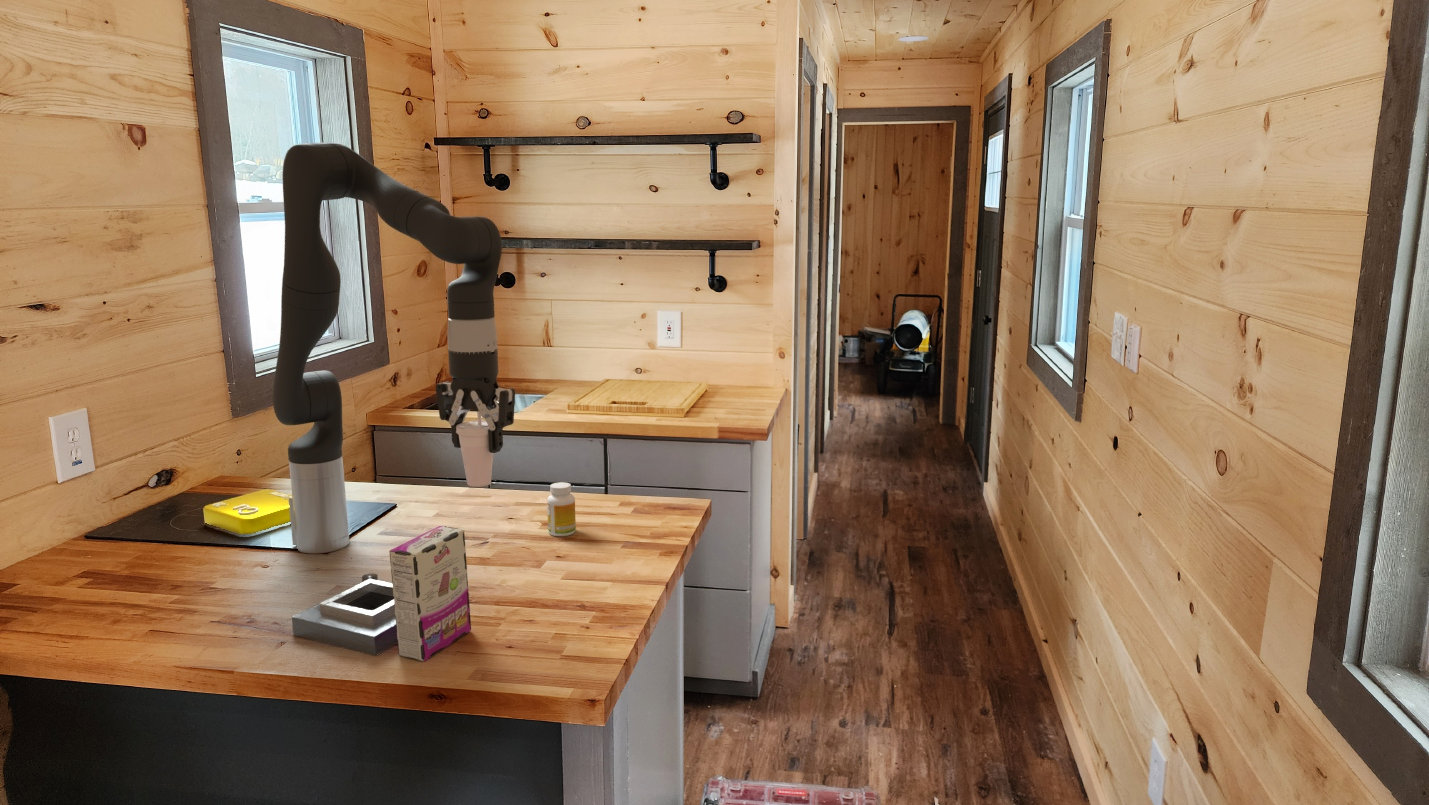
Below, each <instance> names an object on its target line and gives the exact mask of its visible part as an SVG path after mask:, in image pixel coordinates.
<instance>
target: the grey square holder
mask: <svg viewBox="0 0 1429 805" xmlns="http://www.w3.org/2000/svg"><path fill="white" fill-rule="evenodd" d="M378 577H379V576H378V573H373V572H372V573H371V572H370V573H366V574H363V575H362V576H361V582H360V583H358V584H356V585H354V586H352V587H349V588H347V589H345V590H343V591H341V592H339V593H337V594H335V595H333V596H332V597H329V598H327V599H325V600H323V601H321V602H319V603H317V604H314V605H313V606H310V607H308V608H307V609H305V610H303V611H300V612H298V613H297V614H294V615H292V616H291V621H292V622H291V624H292V634H293V636H295V637H299V638H303V639H307V640H311V641H315V642H318V643H319V642H320V643H323V644H327V645H329V646H330V645H331V646H334V647H339V648H342V647H343V649H346V650H350V651H354V652H359V653H362V652H363V654H367V655H371V656H374V655H375V656H374V657H376V656H378V655H379V653H380V654H382V653H383V652H385V651H386V650H388V649H390V648H392V647H393V646H395V645H398V640H397V629H396V618H395V606H394V595H393V586H392V582H389V581H383V580H379V578H378ZM391 646H392V647H391ZM377 654H378V655H377Z"/></svg>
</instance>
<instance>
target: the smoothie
mask: <svg viewBox="0 0 1429 805" xmlns="http://www.w3.org/2000/svg"><path fill="white" fill-rule="evenodd" d="M476 412H477V413H476V414H477V416H476V417H477V420H471V421H470V420H469V421H464V422H463V423H461V424H458V425H457V426H456V433H457V434H458V435H459V440H460V446H461V448H460V450H461V451H460V452H461V455H462V462H463V467H464V472H465V473H464V474H465V478H466V483H467V485H468V486H469V487H473V488H475V487H477V488H478V487H479V488H481V487H487V486H489V485H490V484H491V483H492V474H493V473H492V472H493V471H492V470H493V464H494V463H493V461H494V453H490V452H489V436H488V431H489V430H490V429H489V426H488V424H487V422H486V420H482V416H481V414H480V412H479V411H476Z"/></svg>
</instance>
